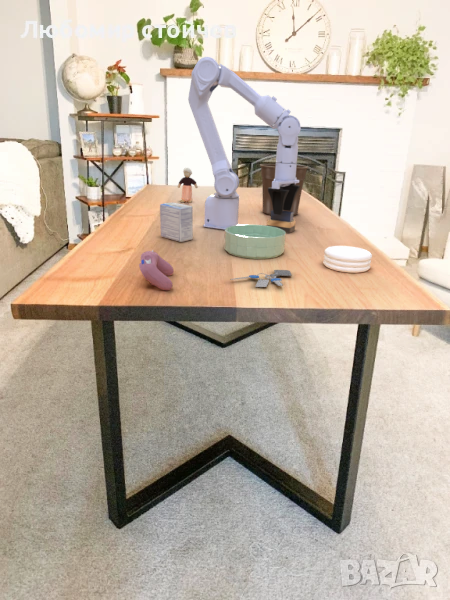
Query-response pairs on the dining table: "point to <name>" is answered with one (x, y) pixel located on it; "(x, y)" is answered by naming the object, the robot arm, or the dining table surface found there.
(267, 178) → the plant pot
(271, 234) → the bowl
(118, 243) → the dining table surface
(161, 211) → the medicine box
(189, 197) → the grandmother figurine
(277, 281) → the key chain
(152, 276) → the pink curved piece
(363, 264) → the white round stacked piece
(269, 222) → the brush
